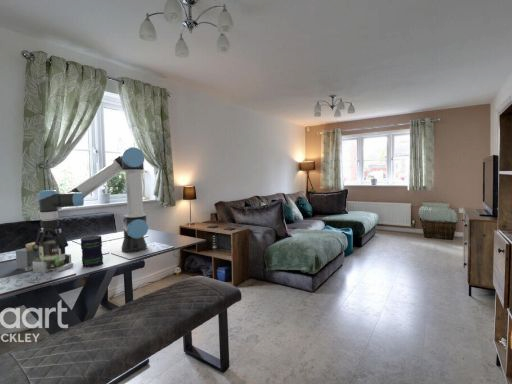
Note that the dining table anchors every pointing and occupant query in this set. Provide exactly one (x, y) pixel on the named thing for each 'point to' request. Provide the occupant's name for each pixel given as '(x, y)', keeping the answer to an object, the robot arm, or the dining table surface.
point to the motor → (36, 259)
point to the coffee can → (50, 254)
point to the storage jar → (91, 251)
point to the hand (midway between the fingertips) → (52, 259)
